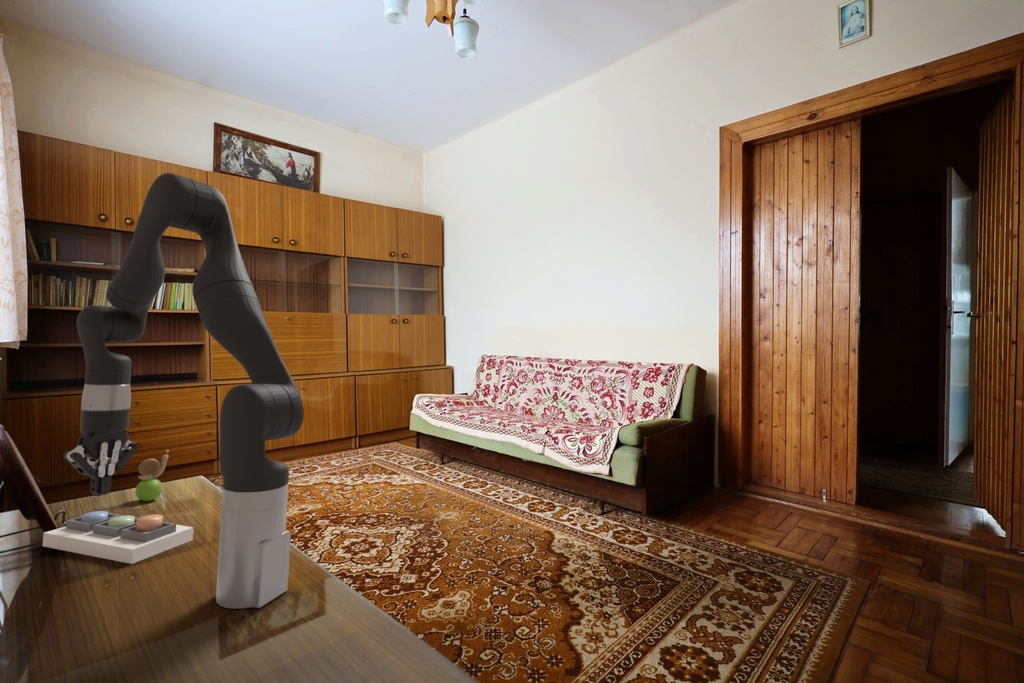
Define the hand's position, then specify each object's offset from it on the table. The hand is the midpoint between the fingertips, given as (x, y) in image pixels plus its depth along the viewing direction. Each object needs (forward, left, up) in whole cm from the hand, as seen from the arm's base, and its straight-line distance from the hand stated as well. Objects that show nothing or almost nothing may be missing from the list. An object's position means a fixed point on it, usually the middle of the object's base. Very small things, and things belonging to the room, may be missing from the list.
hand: (100, 494), depth 96 cm
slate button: (+1, 0, -6) cm, 6 cm away
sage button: (-6, 0, -6) cm, 8 cm away
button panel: (-6, 0, -9) cm, 10 cm away
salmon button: (-13, 0, -5) cm, 14 cm away
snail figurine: (+14, -22, -9) cm, 28 cm away
